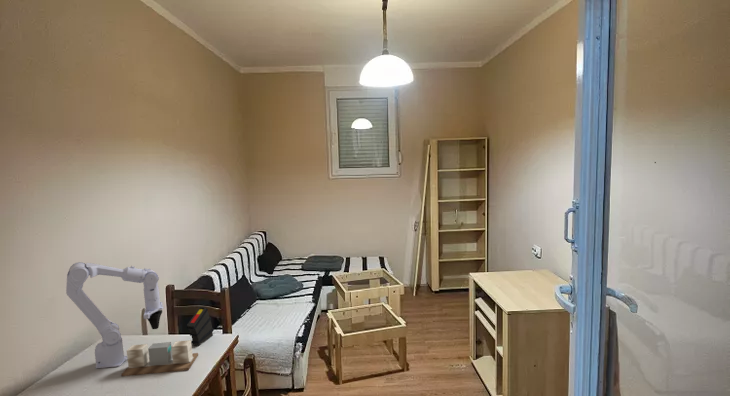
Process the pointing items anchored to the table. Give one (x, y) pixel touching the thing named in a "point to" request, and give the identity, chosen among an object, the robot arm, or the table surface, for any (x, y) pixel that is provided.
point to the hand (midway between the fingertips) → (155, 328)
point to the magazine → (200, 327)
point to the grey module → (160, 353)
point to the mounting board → (141, 365)
